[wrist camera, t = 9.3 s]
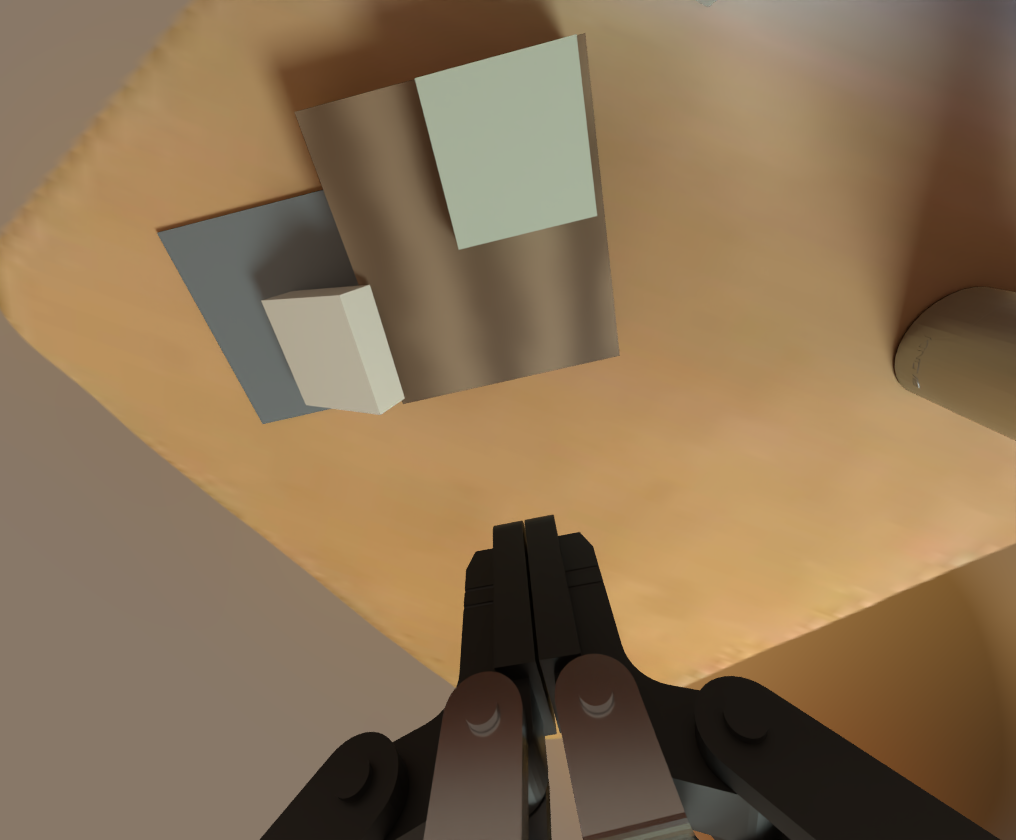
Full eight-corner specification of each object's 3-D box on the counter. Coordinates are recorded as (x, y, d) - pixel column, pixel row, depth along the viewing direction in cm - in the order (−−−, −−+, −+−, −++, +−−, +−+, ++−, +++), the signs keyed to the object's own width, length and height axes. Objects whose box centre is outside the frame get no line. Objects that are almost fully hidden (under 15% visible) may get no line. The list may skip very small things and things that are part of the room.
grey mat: (327, 189, 29) (325, 189, 28) (401, 391, 35) (401, 392, 35) (160, 232, 29) (157, 232, 29) (264, 422, 36) (262, 424, 36)
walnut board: (571, 55, 26) (585, 33, 22) (605, 339, 34) (619, 355, 31) (319, 123, 27) (294, 112, 23) (411, 383, 35) (403, 404, 32)
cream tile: (369, 284, 27) (339, 295, 25) (404, 398, 31) (380, 414, 29) (292, 291, 31) (261, 300, 29) (331, 391, 35) (305, 405, 33)
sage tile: (567, 50, 23) (576, 34, 21) (587, 214, 26) (597, 215, 24) (421, 89, 23) (414, 78, 21) (461, 245, 27) (458, 249, 25)
